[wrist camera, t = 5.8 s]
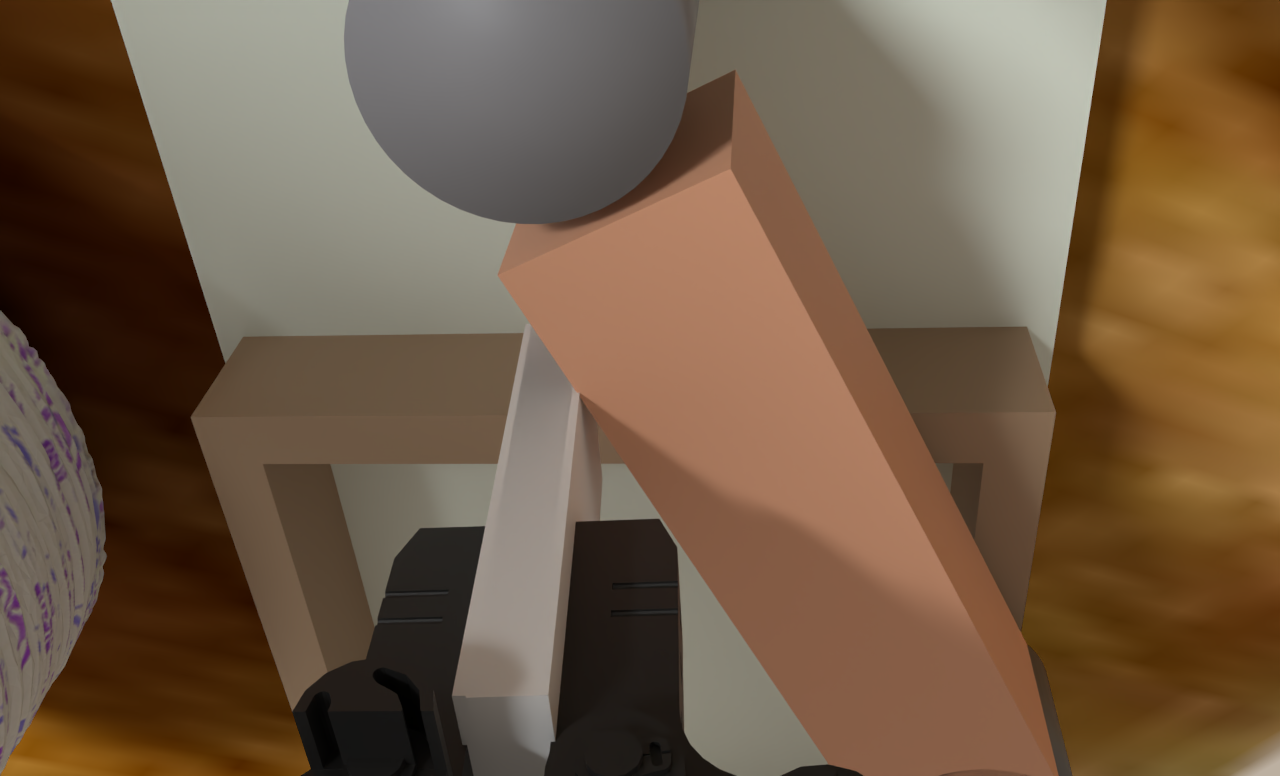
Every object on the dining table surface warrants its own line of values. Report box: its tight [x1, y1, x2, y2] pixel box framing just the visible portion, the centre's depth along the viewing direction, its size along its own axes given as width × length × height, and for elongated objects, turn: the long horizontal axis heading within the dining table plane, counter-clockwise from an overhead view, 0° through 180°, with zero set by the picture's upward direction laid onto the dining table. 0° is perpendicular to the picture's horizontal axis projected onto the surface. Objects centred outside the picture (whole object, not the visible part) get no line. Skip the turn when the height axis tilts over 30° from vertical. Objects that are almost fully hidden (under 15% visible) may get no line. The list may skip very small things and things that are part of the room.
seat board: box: [111, 0, 1107, 776], centre depth 22 cm, size 15×24×4 cm, turn 4°
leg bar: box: [344, 0, 1072, 776], centre depth 17 cm, size 17×4×3 cm, turn 29°
